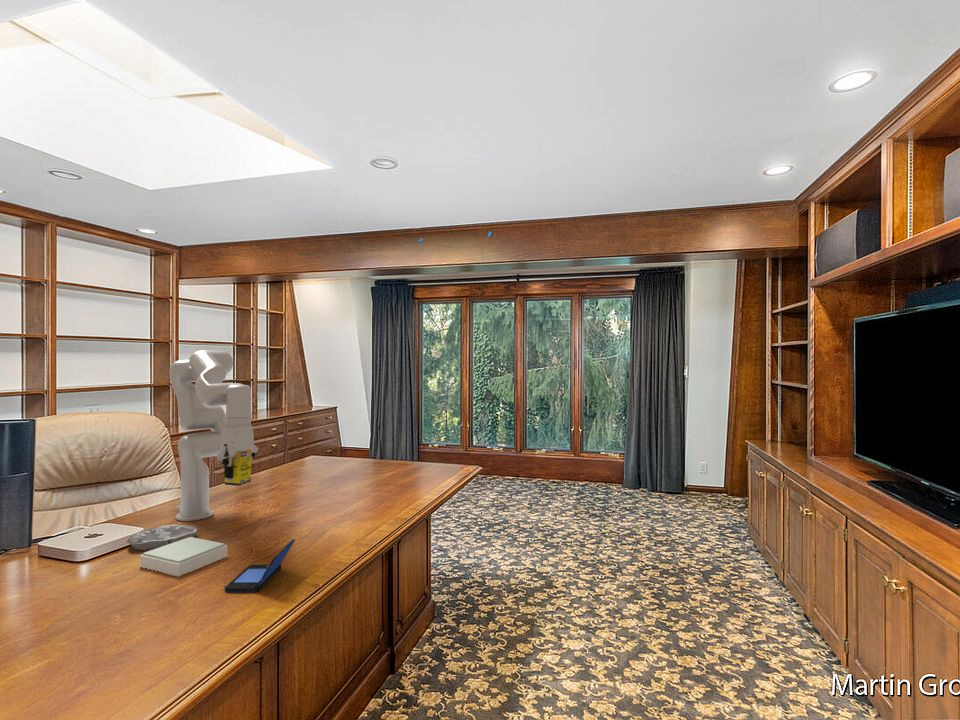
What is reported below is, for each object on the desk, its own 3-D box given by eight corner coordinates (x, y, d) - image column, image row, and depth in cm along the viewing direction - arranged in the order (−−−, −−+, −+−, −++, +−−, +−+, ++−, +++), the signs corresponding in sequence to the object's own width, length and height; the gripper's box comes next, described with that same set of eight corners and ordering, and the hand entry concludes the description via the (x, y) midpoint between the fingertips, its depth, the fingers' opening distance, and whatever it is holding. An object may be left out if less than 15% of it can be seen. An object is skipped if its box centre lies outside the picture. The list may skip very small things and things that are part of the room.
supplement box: (240, 486, 169) (240, 452, 169) (223, 484, 170) (224, 451, 170) (251, 481, 175) (251, 449, 174) (235, 480, 176) (236, 448, 176)
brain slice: (187, 529, 184) (187, 520, 184) (202, 541, 171) (202, 532, 171) (120, 542, 170) (120, 533, 170) (132, 556, 158) (132, 547, 158)
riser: (140, 567, 149) (140, 553, 149) (190, 548, 164) (190, 536, 164) (178, 576, 143) (178, 562, 143) (227, 556, 157) (227, 543, 157)
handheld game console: (249, 569, 149) (249, 537, 149) (296, 569, 149) (296, 537, 149) (222, 593, 133) (222, 557, 133) (274, 594, 133) (274, 558, 133)
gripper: (251, 418, 182) (250, 469, 182) (207, 424, 166) (207, 480, 166) (267, 419, 179) (266, 471, 179) (224, 425, 163) (224, 482, 163)
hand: (237, 475), depth 172 cm, fingers closed on supplement box, 6 cm apart
